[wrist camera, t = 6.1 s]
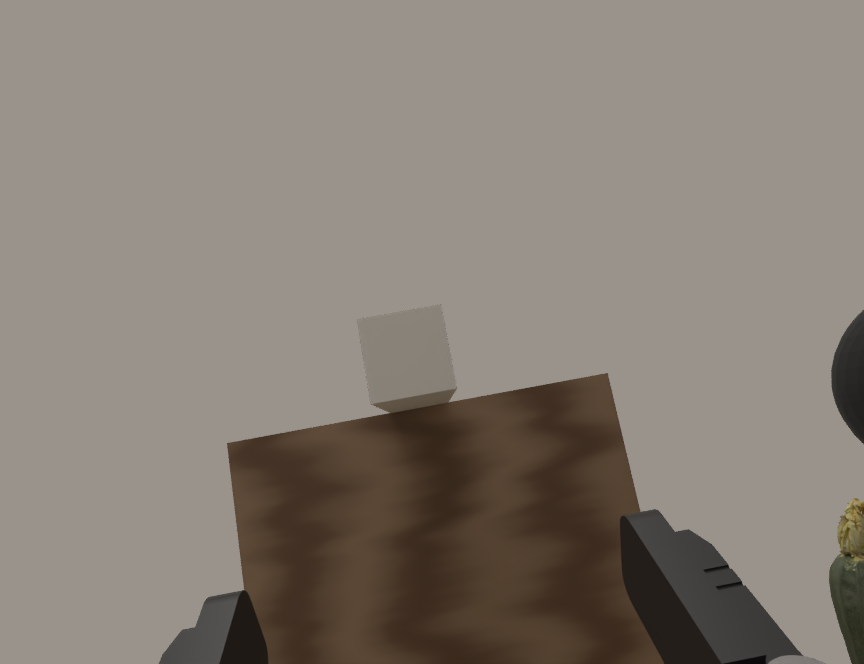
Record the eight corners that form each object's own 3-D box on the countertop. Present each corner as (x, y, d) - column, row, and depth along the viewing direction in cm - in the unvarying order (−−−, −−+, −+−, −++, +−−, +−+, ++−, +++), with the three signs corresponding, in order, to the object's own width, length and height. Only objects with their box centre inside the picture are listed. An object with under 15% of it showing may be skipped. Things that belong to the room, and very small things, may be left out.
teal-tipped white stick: (445, 411, 45) (438, 374, 45) (465, 386, 19) (449, 303, 20) (401, 419, 45) (394, 382, 45) (361, 405, 19) (348, 320, 20)
